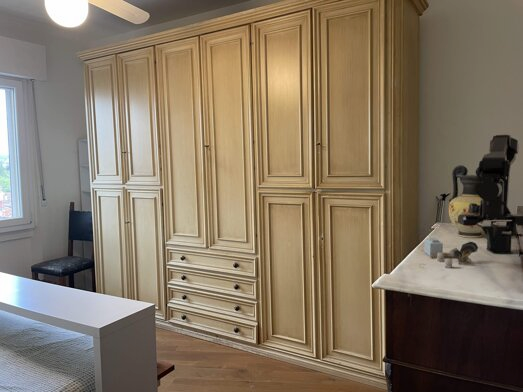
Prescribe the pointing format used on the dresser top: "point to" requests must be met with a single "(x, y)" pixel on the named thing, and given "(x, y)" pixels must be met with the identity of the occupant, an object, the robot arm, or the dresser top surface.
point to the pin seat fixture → (447, 261)
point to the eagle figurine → (464, 251)
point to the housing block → (433, 246)
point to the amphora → (464, 200)
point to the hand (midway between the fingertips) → (491, 247)
